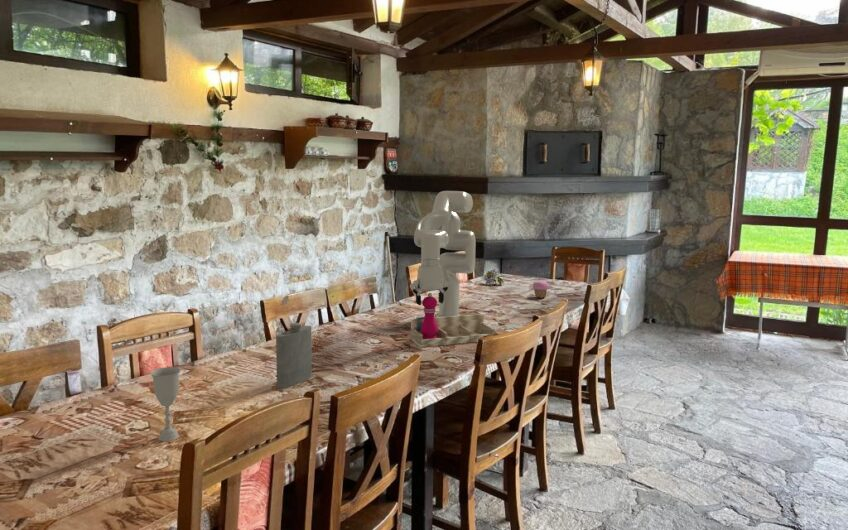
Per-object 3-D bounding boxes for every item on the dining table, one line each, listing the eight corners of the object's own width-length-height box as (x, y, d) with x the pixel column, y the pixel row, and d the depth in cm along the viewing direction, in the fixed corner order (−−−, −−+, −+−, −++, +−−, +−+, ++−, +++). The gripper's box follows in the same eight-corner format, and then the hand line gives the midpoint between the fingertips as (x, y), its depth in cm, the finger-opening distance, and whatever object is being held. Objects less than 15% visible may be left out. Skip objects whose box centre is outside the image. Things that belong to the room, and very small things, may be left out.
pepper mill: (435, 343, 258) (436, 295, 255) (418, 341, 259) (419, 293, 256) (439, 338, 265) (440, 291, 262) (422, 337, 266) (423, 290, 263)
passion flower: (488, 293, 394) (478, 277, 395) (496, 288, 402) (486, 272, 403) (501, 285, 387) (490, 269, 388) (509, 280, 395) (498, 264, 396)
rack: (420, 347, 255) (421, 324, 253) (410, 339, 266) (411, 317, 264) (494, 340, 267) (495, 318, 265) (482, 333, 278) (482, 312, 276)
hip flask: (306, 374, 219) (305, 318, 216) (315, 376, 217) (315, 319, 214) (274, 387, 205) (273, 327, 202) (284, 390, 203) (283, 329, 200)
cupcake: (550, 297, 359) (551, 279, 357) (544, 299, 351) (545, 282, 350) (535, 295, 363) (536, 278, 362) (529, 297, 356) (530, 280, 355)
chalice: (173, 429, 172) (170, 365, 169) (188, 435, 168) (185, 370, 165) (148, 438, 166) (144, 372, 163) (163, 445, 162) (160, 377, 159)
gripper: (446, 260, 264) (445, 300, 267) (407, 262, 258) (406, 303, 261) (453, 263, 257) (452, 304, 260) (413, 265, 251) (413, 307, 254)
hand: (429, 303), depth 260 cm, fingers open, 9 cm apart
